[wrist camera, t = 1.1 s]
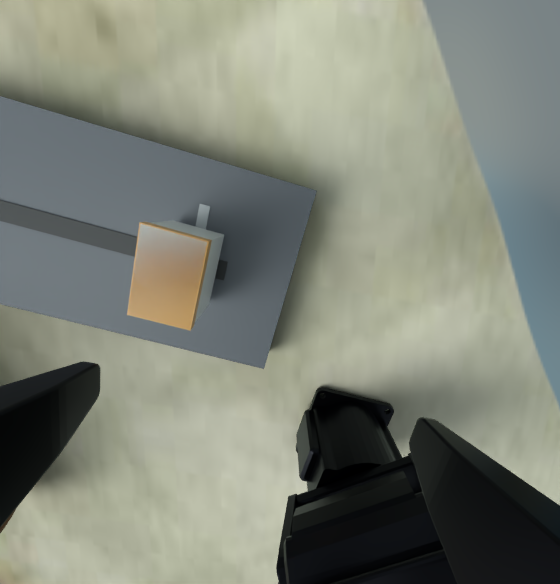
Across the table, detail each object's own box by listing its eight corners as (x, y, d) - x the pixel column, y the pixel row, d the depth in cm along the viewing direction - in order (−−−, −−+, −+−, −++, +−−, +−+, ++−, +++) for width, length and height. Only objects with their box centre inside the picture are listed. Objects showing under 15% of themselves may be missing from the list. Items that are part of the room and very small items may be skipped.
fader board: (312, 192, 19) (317, 190, 16) (265, 351, 22) (263, 369, 19) (-38, 88, 17) (-93, 68, 14) (-32, 276, 20) (-76, 286, 18)
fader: (225, 234, 16) (208, 241, 13) (209, 304, 18) (190, 330, 14) (172, 219, 16) (139, 222, 12) (160, 291, 17) (126, 314, 14)
